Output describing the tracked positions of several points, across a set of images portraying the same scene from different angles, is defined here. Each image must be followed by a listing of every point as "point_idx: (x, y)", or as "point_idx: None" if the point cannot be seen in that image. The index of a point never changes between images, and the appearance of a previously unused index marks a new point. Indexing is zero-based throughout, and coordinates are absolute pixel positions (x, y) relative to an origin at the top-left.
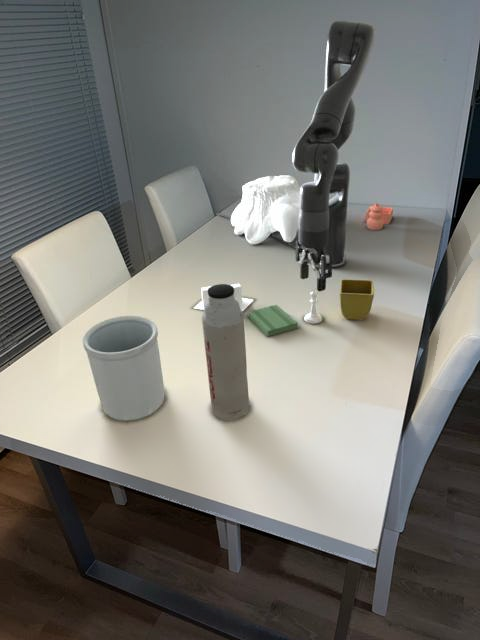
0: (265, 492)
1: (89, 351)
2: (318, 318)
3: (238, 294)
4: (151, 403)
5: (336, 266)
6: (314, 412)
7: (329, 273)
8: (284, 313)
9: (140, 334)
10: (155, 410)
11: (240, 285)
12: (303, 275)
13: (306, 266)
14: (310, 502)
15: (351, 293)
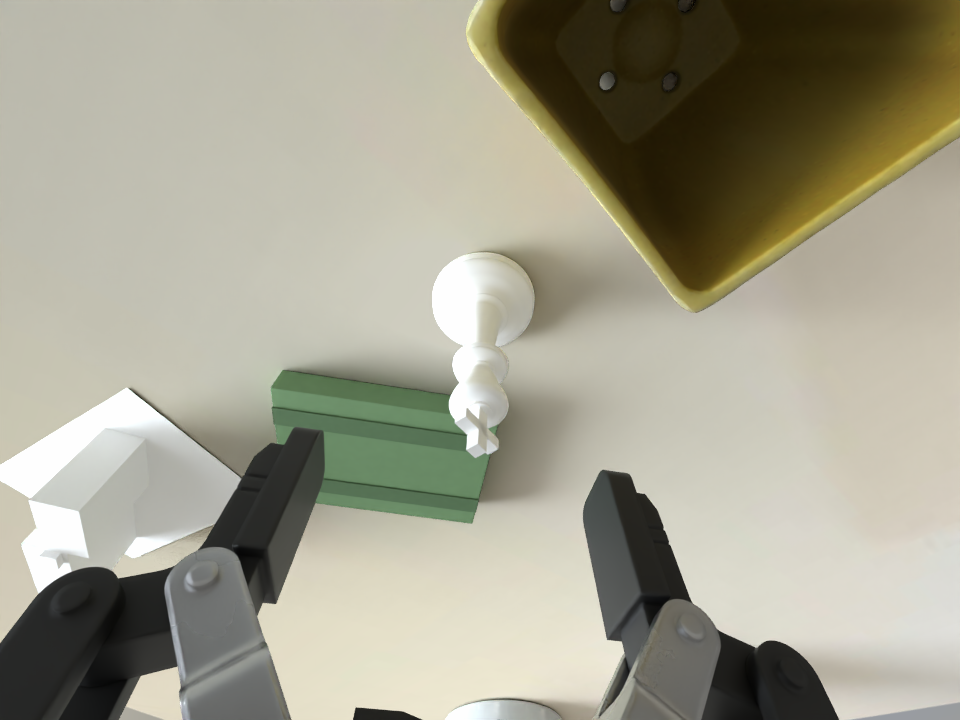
0: (866, 703)
1: None
2: (523, 307)
3: (112, 485)
4: None
5: None
6: (855, 596)
7: (801, 718)
8: (381, 411)
9: None
10: (560, 717)
11: (60, 507)
12: (311, 493)
13: (274, 562)
14: (954, 685)
15: (800, 237)
